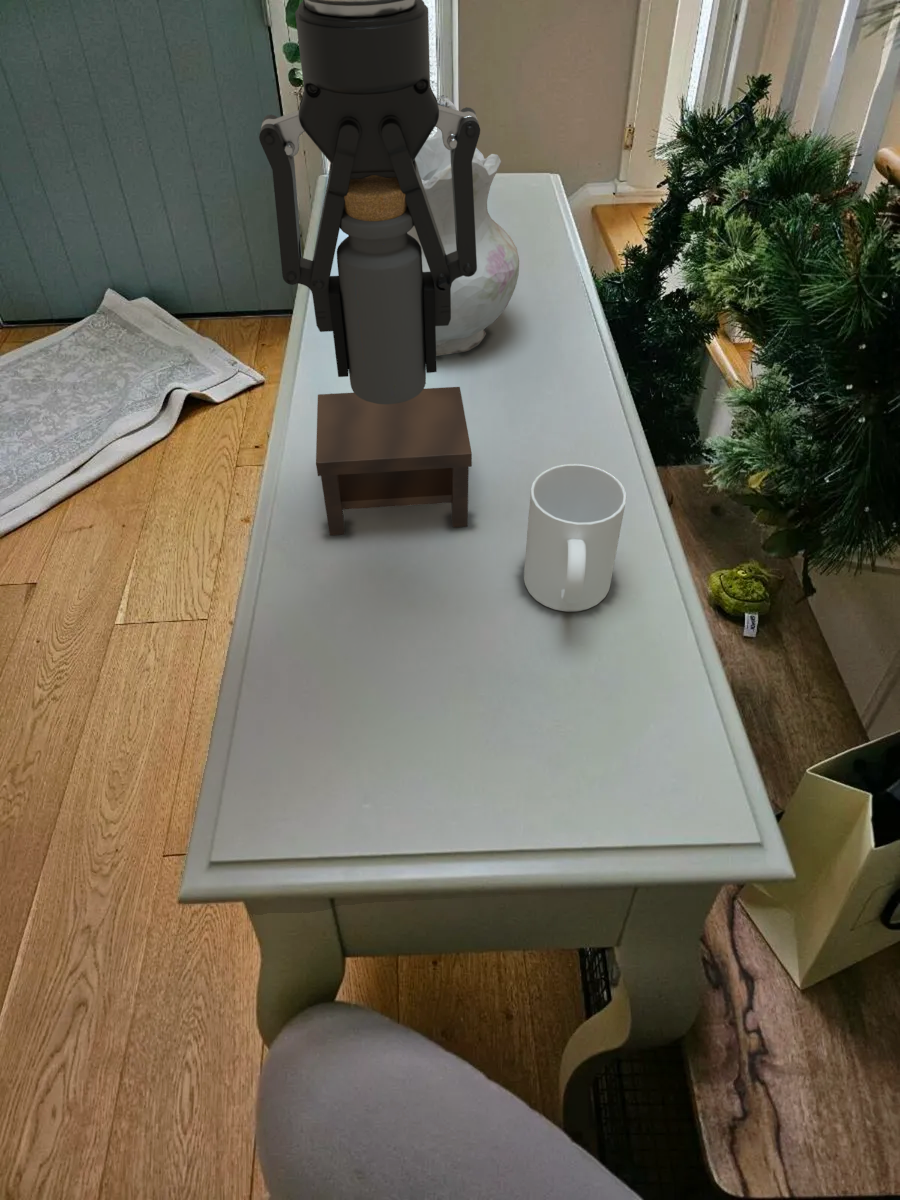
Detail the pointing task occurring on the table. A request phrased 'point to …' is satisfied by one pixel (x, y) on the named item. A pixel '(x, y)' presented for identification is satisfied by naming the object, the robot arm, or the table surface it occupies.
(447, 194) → the ceramic pitcher
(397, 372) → the bottle
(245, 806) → the table surface
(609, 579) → the mug
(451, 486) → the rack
